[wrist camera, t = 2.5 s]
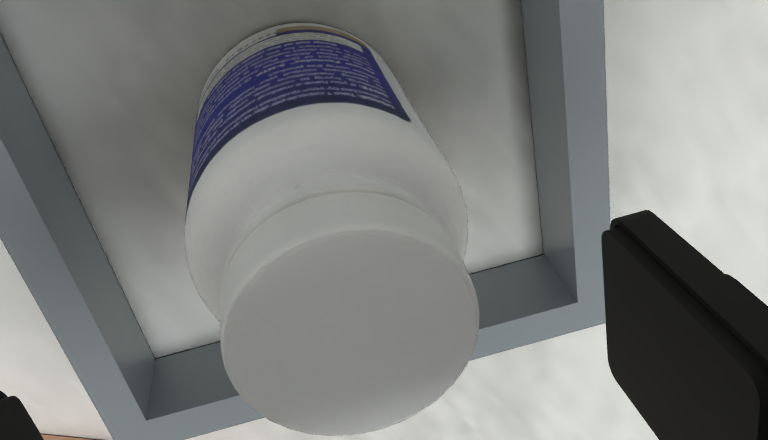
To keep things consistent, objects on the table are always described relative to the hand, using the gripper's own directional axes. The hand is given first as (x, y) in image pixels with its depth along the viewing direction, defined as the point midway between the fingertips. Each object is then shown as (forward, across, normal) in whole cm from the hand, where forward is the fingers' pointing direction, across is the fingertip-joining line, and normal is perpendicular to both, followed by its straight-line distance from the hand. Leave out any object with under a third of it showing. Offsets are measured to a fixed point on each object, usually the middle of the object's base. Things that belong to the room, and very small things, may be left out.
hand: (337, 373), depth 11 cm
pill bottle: (+9, 0, -1) cm, 9 cm away
